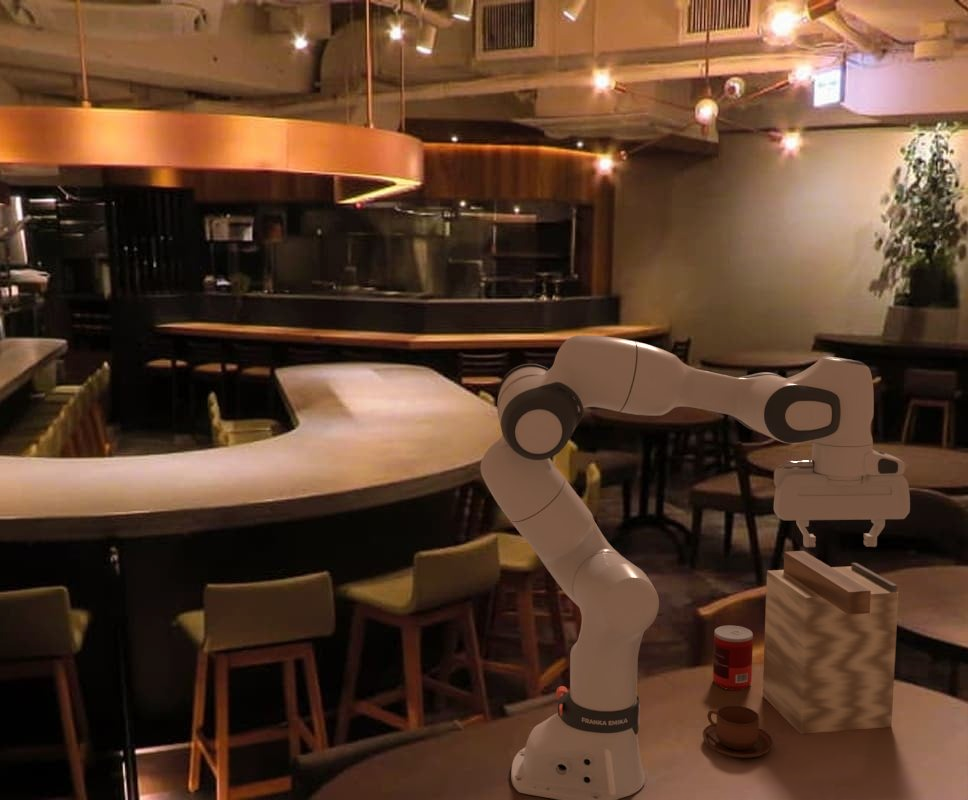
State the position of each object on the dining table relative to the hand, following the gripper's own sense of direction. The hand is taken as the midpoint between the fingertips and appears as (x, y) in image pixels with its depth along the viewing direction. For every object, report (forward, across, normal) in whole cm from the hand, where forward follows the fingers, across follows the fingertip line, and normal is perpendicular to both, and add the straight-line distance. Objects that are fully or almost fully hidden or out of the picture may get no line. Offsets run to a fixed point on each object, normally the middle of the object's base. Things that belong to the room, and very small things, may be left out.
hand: (839, 546), depth 145 cm
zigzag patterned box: (+41, +7, +28) cm, 51 cm away
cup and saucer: (+41, -13, +14) cm, 45 cm away
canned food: (+41, -8, +40) cm, 58 cm away
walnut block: (+15, +5, +23) cm, 28 cm away
